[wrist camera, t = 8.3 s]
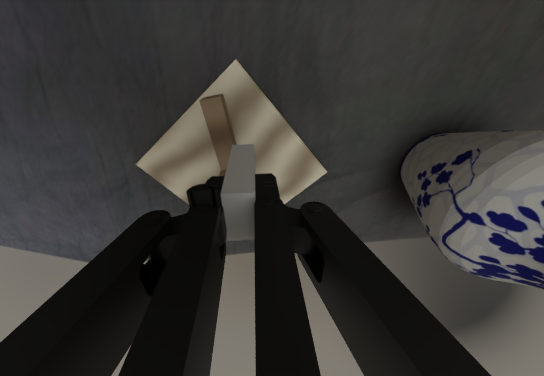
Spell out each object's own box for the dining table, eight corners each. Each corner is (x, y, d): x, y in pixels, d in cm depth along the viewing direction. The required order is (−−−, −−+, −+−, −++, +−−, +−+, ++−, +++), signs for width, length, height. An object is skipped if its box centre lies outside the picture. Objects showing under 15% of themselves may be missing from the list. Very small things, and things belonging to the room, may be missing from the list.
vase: (397, 221, 46) (587, 427, 20) (360, 154, 38) (601, 353, 12) (492, 171, 42) (895, 350, 15) (473, 81, 33) (1273, 143, 7)
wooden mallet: (261, 219, 41) (263, 246, 35) (238, 224, 41) (236, 250, 35) (230, 91, 30) (225, 98, 24) (199, 97, 30) (185, 105, 24)
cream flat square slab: (139, 161, 35) (135, 164, 34) (236, 59, 30) (235, 59, 28) (236, 235, 45) (235, 240, 43) (325, 169, 39) (327, 172, 38)
